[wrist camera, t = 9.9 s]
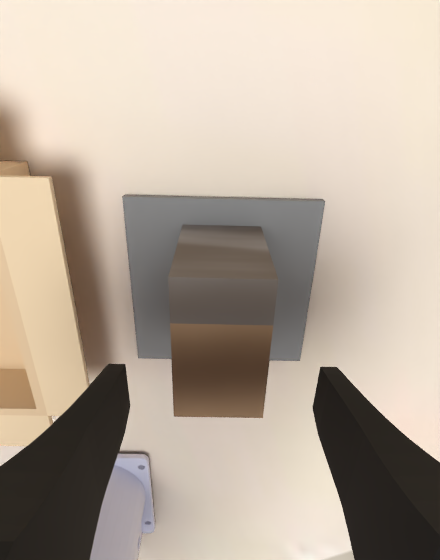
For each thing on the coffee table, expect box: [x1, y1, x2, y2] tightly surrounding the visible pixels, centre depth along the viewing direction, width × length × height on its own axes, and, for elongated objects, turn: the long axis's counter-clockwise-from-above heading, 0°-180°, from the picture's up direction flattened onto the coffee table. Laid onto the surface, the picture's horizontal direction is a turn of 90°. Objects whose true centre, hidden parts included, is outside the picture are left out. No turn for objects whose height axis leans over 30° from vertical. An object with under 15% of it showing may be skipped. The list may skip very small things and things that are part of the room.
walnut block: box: [168, 224, 278, 418], centre depth 17 cm, size 7×4×6 cm, turn 178°
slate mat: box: [123, 195, 325, 361], centre depth 20 cm, size 10×10×1 cm
